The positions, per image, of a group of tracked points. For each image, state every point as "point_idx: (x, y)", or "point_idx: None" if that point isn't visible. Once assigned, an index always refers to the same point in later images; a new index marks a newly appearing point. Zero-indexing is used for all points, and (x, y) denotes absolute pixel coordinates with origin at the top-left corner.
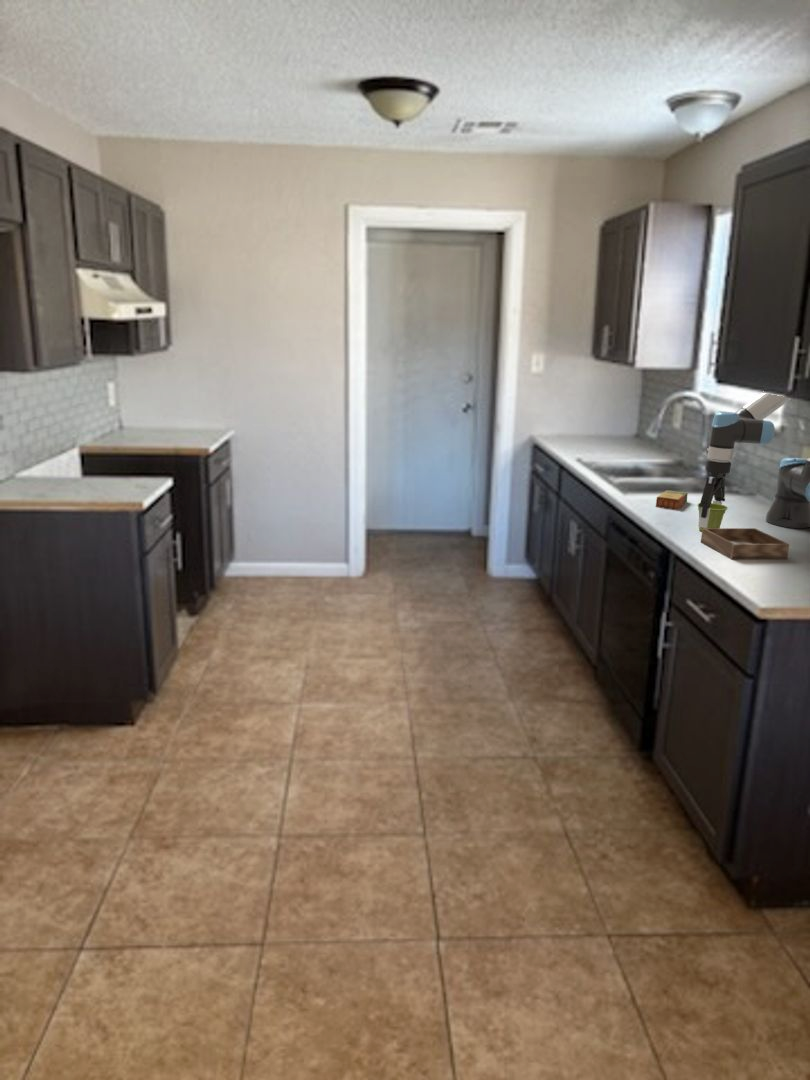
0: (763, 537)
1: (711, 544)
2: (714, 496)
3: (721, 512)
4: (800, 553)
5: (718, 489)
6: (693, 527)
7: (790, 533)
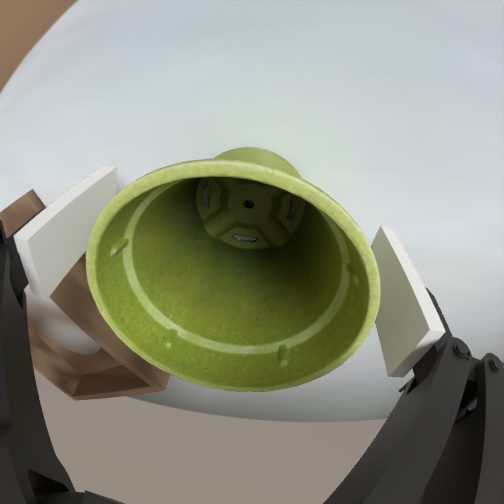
0: (120, 381)
1: None
2: (435, 372)
3: (167, 341)
4: (155, 403)
5: (339, 495)
6: (303, 111)
7: (359, 410)
